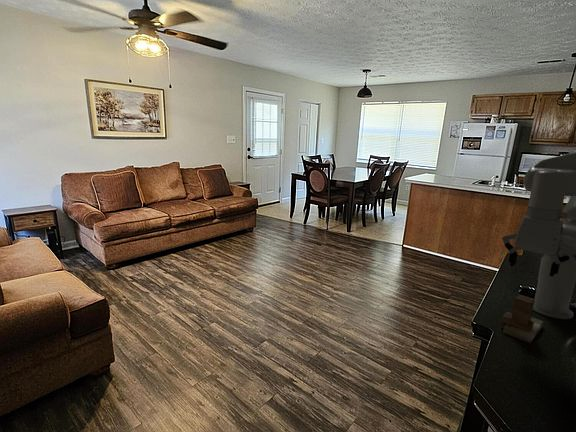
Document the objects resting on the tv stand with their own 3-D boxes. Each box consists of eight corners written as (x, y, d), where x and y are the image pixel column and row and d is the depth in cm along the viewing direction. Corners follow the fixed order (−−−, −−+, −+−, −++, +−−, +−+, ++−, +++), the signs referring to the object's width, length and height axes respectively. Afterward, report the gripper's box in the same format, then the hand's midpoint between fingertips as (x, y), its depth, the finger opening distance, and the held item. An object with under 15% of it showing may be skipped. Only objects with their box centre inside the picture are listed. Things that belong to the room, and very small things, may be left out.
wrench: (534, 298, 128) (538, 270, 150) (540, 300, 127) (543, 271, 149) (538, 281, 126) (542, 254, 148) (544, 282, 125) (547, 255, 146)
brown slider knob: (504, 322, 103) (510, 291, 100) (531, 332, 97) (539, 300, 95) (500, 326, 100) (506, 295, 98) (528, 337, 95) (535, 304, 92)
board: (516, 317, 107) (517, 312, 106) (541, 326, 102) (543, 321, 101) (502, 332, 98) (503, 326, 97) (530, 343, 93) (531, 337, 92)
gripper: (585, 218, 86) (572, 276, 90) (511, 207, 99) (502, 259, 103) (581, 222, 81) (566, 283, 85) (503, 210, 94) (494, 264, 98)
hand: (531, 270), depth 94 cm, fingers open, 9 cm apart
